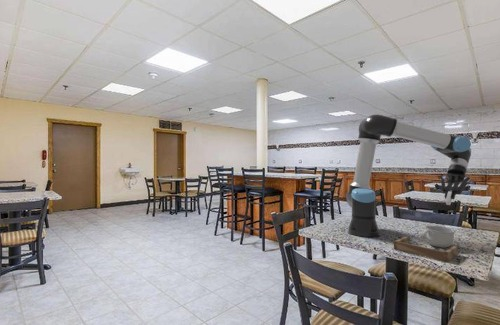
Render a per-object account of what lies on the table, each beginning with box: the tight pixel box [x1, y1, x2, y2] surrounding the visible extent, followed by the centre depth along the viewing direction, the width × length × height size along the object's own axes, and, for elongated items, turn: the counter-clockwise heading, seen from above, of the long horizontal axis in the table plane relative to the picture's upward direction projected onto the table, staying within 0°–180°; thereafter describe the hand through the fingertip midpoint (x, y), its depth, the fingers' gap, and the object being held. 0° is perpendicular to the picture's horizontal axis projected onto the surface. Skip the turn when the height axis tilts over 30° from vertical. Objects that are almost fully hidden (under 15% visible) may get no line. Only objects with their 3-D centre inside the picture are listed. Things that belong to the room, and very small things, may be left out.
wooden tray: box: [393, 236, 459, 263], centre depth 112 cm, size 13×19×4 cm
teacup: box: [422, 225, 455, 249], centre depth 121 cm, size 14×11×8 cm
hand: (447, 203), depth 130 cm, fingers closed
